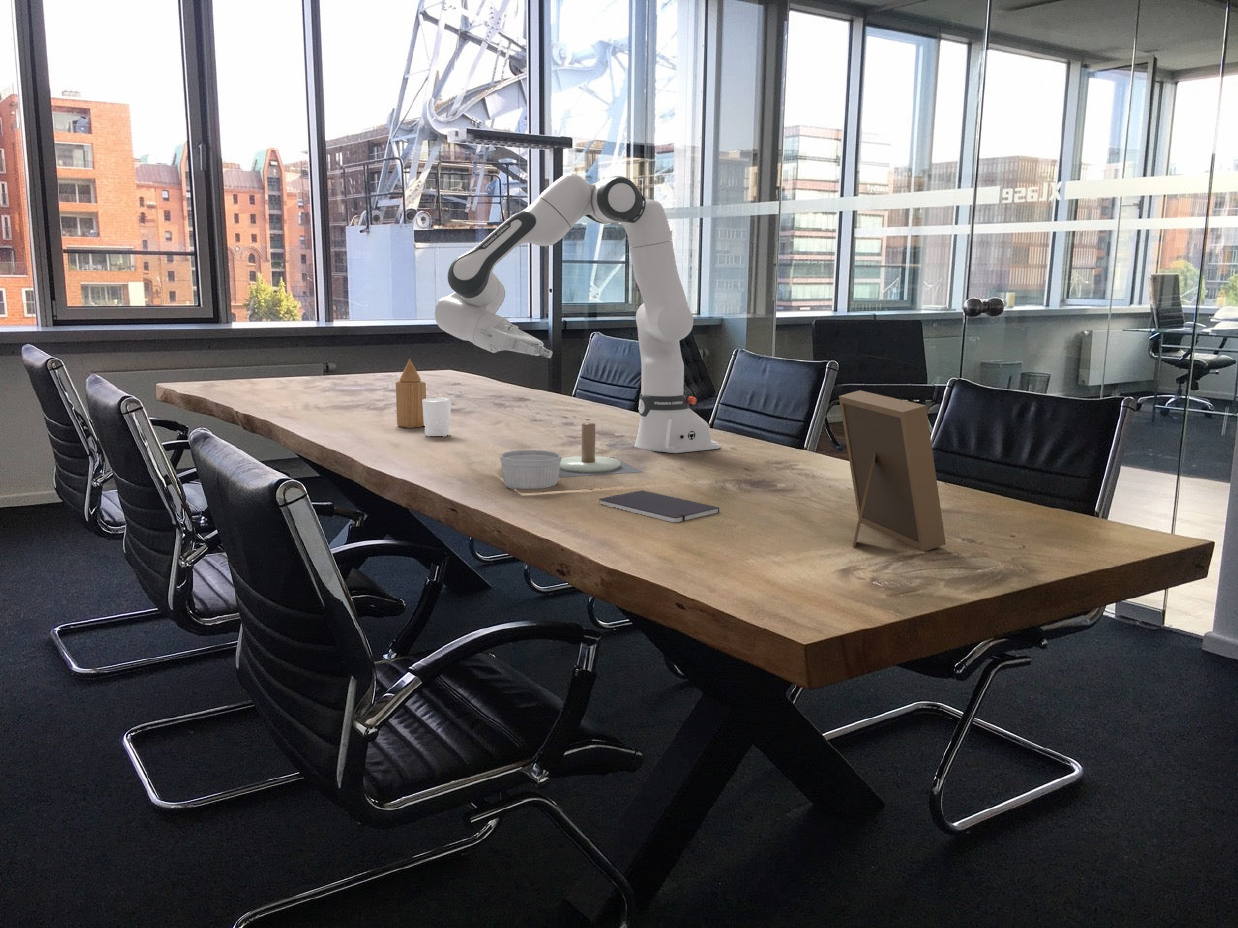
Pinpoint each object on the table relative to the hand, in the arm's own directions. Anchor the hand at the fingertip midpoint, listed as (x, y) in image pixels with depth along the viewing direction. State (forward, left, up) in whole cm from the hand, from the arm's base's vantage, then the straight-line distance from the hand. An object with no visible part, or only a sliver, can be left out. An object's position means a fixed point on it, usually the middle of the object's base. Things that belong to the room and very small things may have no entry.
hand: (542, 353), depth 247 cm
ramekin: (+10, +25, -27) cm, 38 cm away
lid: (-8, +11, -26) cm, 29 cm away
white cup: (+16, -49, -27) cm, 58 cm away
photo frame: (-36, +86, -27) cm, 97 cm away
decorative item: (+20, -67, -27) cm, 75 cm away
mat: (-8, +11, -26) cm, 30 cm away
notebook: (-8, +53, -27) cm, 60 cm away
